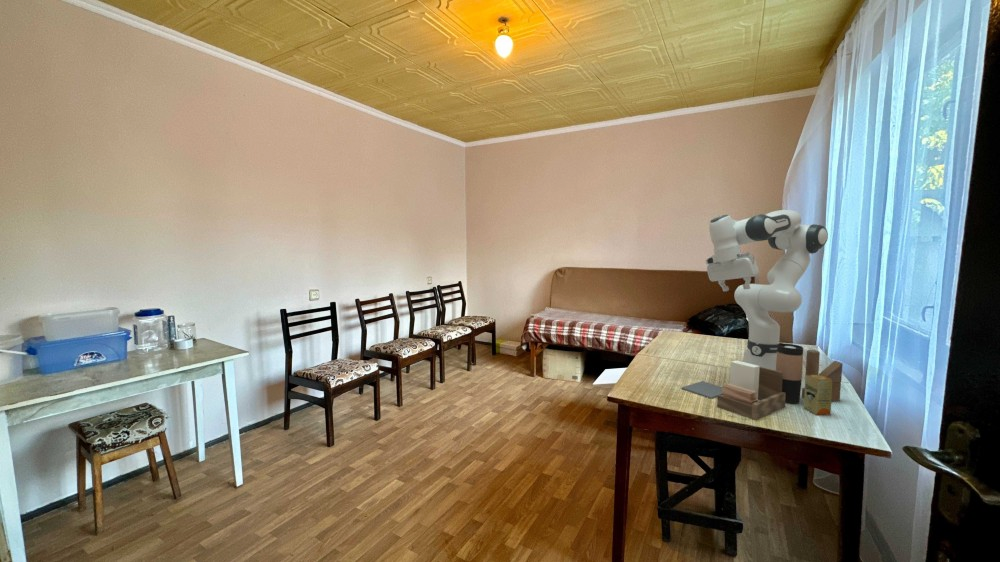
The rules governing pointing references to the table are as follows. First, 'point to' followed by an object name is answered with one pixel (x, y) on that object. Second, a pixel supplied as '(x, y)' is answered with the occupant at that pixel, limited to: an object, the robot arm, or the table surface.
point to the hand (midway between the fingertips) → (736, 290)
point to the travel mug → (790, 370)
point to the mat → (704, 389)
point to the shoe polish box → (818, 394)
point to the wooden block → (824, 372)
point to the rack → (759, 397)
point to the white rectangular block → (745, 375)
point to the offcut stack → (739, 394)
